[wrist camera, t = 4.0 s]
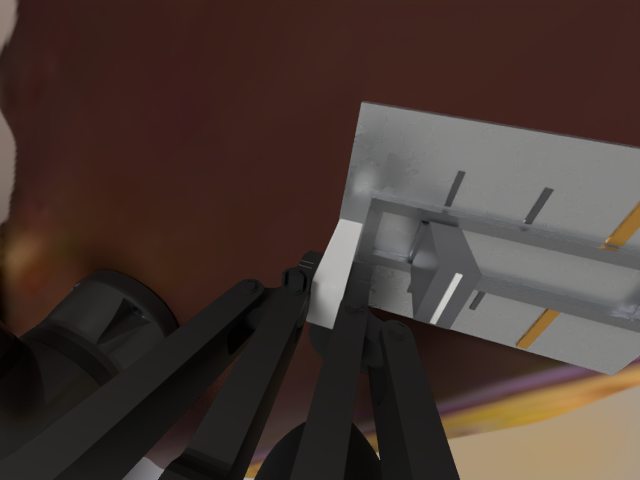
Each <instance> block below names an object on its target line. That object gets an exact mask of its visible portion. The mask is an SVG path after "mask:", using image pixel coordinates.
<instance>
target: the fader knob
mask: <svg viewBox="0 0 640 480" xmlns="http://www.w3.org/2000/svg"><path fill="white" fill-rule="evenodd" d="M409 254H410V259H411V260H413V263H412V265H411V268H410V275H411V291H412V307H413V320H417V321H420V322H424V323H427V324H431V325H434V326H438V327H441V328H445V329H448V330H449V329H450V328H451V326H452V324H453V323H454V321H455V319H456V318H457V316H458V315H459V313H460V311H461V310H462V308H463V307H464V305H465V303H466V302H467V300H468V298H469V297H470V295H471V294H472V292H473V290H474V289H475V287H476V285H477V284H478V282H479V281H480V279H481V277H482V274H481V272H480V270H479V267H478V265H477V263H476V261H475V258H474V256H473V254H472V252H471V249H470V247H469V245H468V242H467V240H466V238H465V236H464V233H463V231H462V229H461V228H457V227H453V226H448V225H444V224H439V223H435V222H431V221H429V223H428V222H423V221H422V223H421V225H420V228H419V230H418V233H417V235H416V238H415V240H414V243H413V246H412V248H411V251H410V253H409Z"/></svg>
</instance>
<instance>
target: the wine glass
mask: <svg viewBox="0 0 640 480" xmlns="http://www.w3.org/2000/svg"><path fill="white" fill-rule="evenodd" d="M375 317H376V316H375ZM378 319H379V318H378ZM380 320H381V319H380ZM383 322H384V321H383ZM331 333H332V329H330V328H327V327H323V326H320V325H317V324H314V323H312V324H311V327H310V331H309V337H310V341H311V344H312V346H313V348H314V349H315V350H316V352H317V353H318V354H319V355H320V356H321V357H322V358H323V359H324V357H325V354H326V350H327V347H328V343H329V340H330V336H331ZM359 373H368V364H366V363H365V362H363V361H362V360H361V364H360V371H359ZM305 424H306V422H304V423H302V424H301V425H299V426H297V427H296V428H294V429H293V430H291V431H290V432H289V433H288V434H287V435H285V436H284V437H283V438H282V439H281V440H280V441H279V442H278V443H277V444H276V445H275V447H274V448H273V449H272V450H271V452H270V453H269V454H268V456H267V457H266V459H265V460H264V462H263V464H262V465H261V467H260V469H259V471H258V473H257V475H256V477H255V479H254V480H290V477H291V473H292V470H293V466H294V463H295V459H296V456H297V452H298V449H299V445H300V442H301V438H302V435H303V431H304V427H305ZM343 480H383V478H382V471H381V463H380V460H379V458H378V456H377V454H376V453H375V451H374V449H373V448H372V446H371V445H370V443H369V442H368V441H367V439H366V438H365V437H364V435H363V434H362V433H361V432H360V430H359V429H358V428H357V427H356V426H355V425H354V424H353V422H352V425H351V432H350V438H349V445H348V452H347V459H346V465H345V472H344V479H343Z"/></svg>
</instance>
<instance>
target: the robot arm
mask: <svg viewBox="0 0 640 480" xmlns="http://www.w3.org/2000/svg"><path fill="white" fill-rule="evenodd" d="M362 225H363V224H361V223H357V222H352V221H348V220H344V219H340V221H339V223H338V225H337V227H336V230H335V232H334V234H333V236H332V238H331V240H330V243H329V245H328V247H327V249H326V251H325V254H322V253H318V252H314V251H311V250H310V251H309V252H307V253H306V254H304V256H303V258H302V259H301V261H300V263H299V265H298V266H297V267H294V268H289V269H286V270H285V271H284V272H283V276H282V287H278V288H264V286H263V284H262V283H261V282H260V281H258V280H255V279H246V280H242V281H240V282H239V283H237V284H236V285H235V286H233V287H232V288H231V289H229V290H228V291H227V292H225V293H224V294H223V295H222V296H220V297H219V298H218V299H216V300H215V301H214V302H212V303H211V304H210V305H208V306H207V307H206V308H204V309H203V310H202V311H201V312H199V313H198V314H197V315H195V316H194V317H193V318H191V319H190V320H189V321H187V322H186V323H185V324H183V325H182V326H181V327H180V328H178V329H177V325H176V322H175V320H174V317H173V316H172V314H171V312H170V311H169V309H168V308H167V307H166V306H165V304H164V303H163V302H162V301H161V300H160V299H159V298H158V297H157V296H156V295H155V294H154V293H153V292H152V291H150V290H149V289H148V288H146V287H145V286H144V285H142V284H141V283H139V282H138V281H136V280H134V279H132V278H130V277H128V276H126V275H124V274H121V273H118V272H115V271H110V270H98V271H95V272H93V273H91V274H90V275H88V276H86V277H85V278H83V279H81V280H80V281H78V282H77V283H76V284H75V285H74V286H73V288H72V289H71V291H70V293H69V294H68V295H67V296H66V297H65V298H64V299H63V300H62V301H61V302H60V303H59V304H58V305H57V306H56V307H55V308H54V309H53V310H52V311H51V312H50V313H49V314H48V315H47V316H46V317H45V318H44V320H42V321H41V322H40V323H39V324H38V325H36V326H35V327H33V328H32V329H30V330H29V331H27V332H26V333H24V334H23V335H21V336H20V337H18V338H17V337H16V336H15V335H14V334H13V333H12V332H11V331H10V330H9V329H8V328H7V327H6V326H5V325H4V324H3V323H2V322H1V321H0V480H122V479H123V478H124V477H125V476H126V475H127V473H128V472H129V471H130V470H131V469H132V468H133V467H134V466H135V465H136V464H137V462H139V461H140V460H141V459H142V457H143V456H144V455H145V454H146V453H147V452H148V451H149V450H150V449H151V448H152V447H153V446H154V445H155V444H156V443H157V442H158V440H159V439H160V438H161V437H162V436H163V435H164V434H165V433H166V432H167V431H168V430H169V429H170V428H171V427H172V426H173V424H174V423H175V422H176V421H177V420H178V419H179V418H180V417H181V416H182V415H183V414H184V413H185V412H186V411H187V410H188V409H189V407H190V406H191V405H192V404H193V403H194V402H195V401H196V400H197V399H198V398H199V397H200V396H201V395H202V394H203V393H204V391H205V390H206V389H207V388H208V387H209V386H210V385H211V384H212V383H213V382H214V381H215V380H216V379H217V378H218V377H219V376H220V374H221V373H222V372H223V371H224V370H225V369H226V368H227V367H228V366H229V365H230V364H231V363H232V362H233V361H234V360H235V358H236V357H237V356H238V355H239V354H240V353H241V352H242V351H243V350H244V351H243V353H242V354H241V356H240V358H239V359H238V361H237V363H236V364H235V366H234V368H233V369H232V371H231V373H230V375H229V376H228V378H227V380H226V381H225V383H224V385H223V386H222V388H221V390H220V391H219V393H218V395H217V397H216V398H215V400H214V402H213V403H212V405H211V407H210V408H209V410H208V412H207V413H206V415H205V417H204V419H203V420H202V422H201V424H200V425H199V427H198V429H197V430H196V432H195V434H194V435H193V437H192V439H191V441H190V442H189V444H188V446H187V447H186V449H185V450H184V452H183V453H182V454H181V455H180V456H179V457H178V458H176V459H175V460H173V461H172V462H171V463H170V464H169V465H168V466H167V468H166V469H165V470H164V472H163V473H162V474H161V476H160V477H159V479H158V480H243V479H244V477H245V474H246V472H247V469H248V467H249V464H250V462H251V459H252V457H253V454H254V452H255V449H256V447H257V444H258V442H259V439H260V437H261V434H262V432H263V429H264V427H265V424H266V422H267V419H268V417H269V414H270V412H271V409H272V407H273V404H274V401H275V399H276V396H277V394H278V391H279V389H280V386H281V384H282V381H283V379H284V376H285V374H286V371H287V369H288V366H289V364H290V361H291V359H292V356H293V354H294V351H295V349H296V346H297V344H298V341H299V339H300V336H301V334H302V331H303V326H304V322H305V319H306V321H307V322H311V323H314V324H317V325H320V326H323V327H327V328H330V329H332V333H331V336H330V340H329V343H328V347H327V350H326V354H325V357H324V361H323V364H322V368H321V371H320V375H319V378H318V382H317V385H316V389H315V392H314V396H313V399H312V403H311V406H310V410H309V413H308V417H307V420H306V424H305V427H304V431H303V435H302V438H301V442H300V445H299V449H298V452H297V456H296V459H295V463H294V466H293V470H292V473H291V477H290V480H343V479H344V472H345V465H346V459H347V452H348V445H349V438H350V432H351V425H352V418H353V411H354V405H355V398H356V391H357V384H358V377H359V371H360V364H361V360H362V361H363V362H365V363H366V364H368V374H369V381H370V389H371V396H372V404H373V411H374V419H375V426H376V434H377V441H378V448H379V456H380V463H381V471H382V478H383V480H460V478H459V475H458V472H457V469H456V466H455V463H454V460H453V457H452V454H451V450H450V447H449V444H448V441H447V438H446V435H445V432H444V429H443V426H442V423H441V420H440V417H439V413H438V410H437V407H436V404H435V401H434V398H433V395H432V392H431V389H430V386H429V383H428V380H427V377H426V374H425V370H424V367H423V364H422V361H421V358H420V355H419V352H418V349H417V346H416V343H415V340H414V337H413V334H412V332H411V330H410V329H409V328H408V327H407V326H406V325H405V324H404V323H402V322H400V321H397V320H388V321H386V322H383V321H382V320H380V319H378V318H377V317H375V316H374V315H373V314H372V313H371V311H370V310H369V307H368V300H369V293H370V287H371V279H372V273H373V272H372V269H371V267H370V266H369V265H366V264H362V263H358V262H354V261H353V260H354V257H355V253H356V249H357V245H358V241H359V237H360V233H361V229H362ZM306 317H307V318H306Z"/></svg>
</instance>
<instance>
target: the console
mask: <svg viewBox="0 0 640 480" xmlns="http://www.w3.org/2000/svg"><path fill="white" fill-rule="evenodd" d="M340 219H344V220H348V221H352V222H357V223H361V224H363V225H362V229H361V233H360V237H359V241H358V245H357V249H356V253H355V257H354V260H353V261H354V262H358V263H362V264H366V265H369V266H370V267H371V269H372V272H373V273H372V279H371V287H370V293H369V300H368V306H371V307H375V308H378V309H382V310H385V311H389V312H392V313H396V314H399V315H403V316H406V317H410V318H413V307H412V291H411V275H410V268H411V265H412V263H413V260H411V259H410V254H409V253H410V251H411V248H412V246H413V243H414V240H415V238H416V235H417V233H418V230H419V228H420V225H421V223H422V221H423V222H428V223H429V221H431V222H435V223H439V224H444V225H448V226H453V227H457V228H461V229H462V231H463V233H464V236H465V238H466V240H467V242H468V245H469V247H470V249H471V252H472V254H473V256H474V258H475V261H476V263H477V265H478V267H479V270H480V272H481V274H482V277H481V279H480V281H479V282H478V284H477V285H476V287H475V289H474V290H473V292H472V294H471V295H470V297H469V298H468V300H467V302H466V303H465V305H464V307H463V308H462V310H461V311H460V313H459V315H458V316H457V318H456V319H455V321H454V323H453V324H452V326H451V328H450V329H451V330H455V331H458V332H462V333H465V334H469V335H472V336H476V337H479V338H483V339H486V340H490V341H493V342H497V343H500V344H504V345H507V346H511V347H514V348H518V349H521V350H525V351H528V352H532V353H535V354H539V355H542V356H546V357H549V358H553V359H556V360H560V361H563V362H567V363H570V364H574V365H577V366H581V367H584V368H588V369H591V370H595V371H598V372H602V373H605V374H609V375H612V376H613V375H614V374H616V373H617V372H618V371H620V370H621V369H622V368H624V367H625V366H626V365H628V364H629V363H630V362H632V361H633V360H634V359H636V358H637V357H638V356H640V147H639V146H633V145H627V144H621V143H615V142H609V141H603V140H597V139H591V138H585V137H579V136H573V135H567V134H561V133H555V132H549V131H543V130H537V129H531V128H525V127H519V126H513V125H507V124H501V123H495V122H489V121H483V120H477V119H471V118H465V117H459V116H453V115H447V114H441V113H435V112H429V111H423V110H417V109H411V108H405V107H399V106H393V105H387V104H381V103H375V102H369V101H364V102H362V104H361V109H360V114H359V119H358V124H357V129H356V135H355V140H354V145H353V150H352V155H351V160H350V166H349V171H348V176H347V181H346V186H345V192H344V197H343V202H342V207H341V212H340V217H339V221H340Z"/></svg>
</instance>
